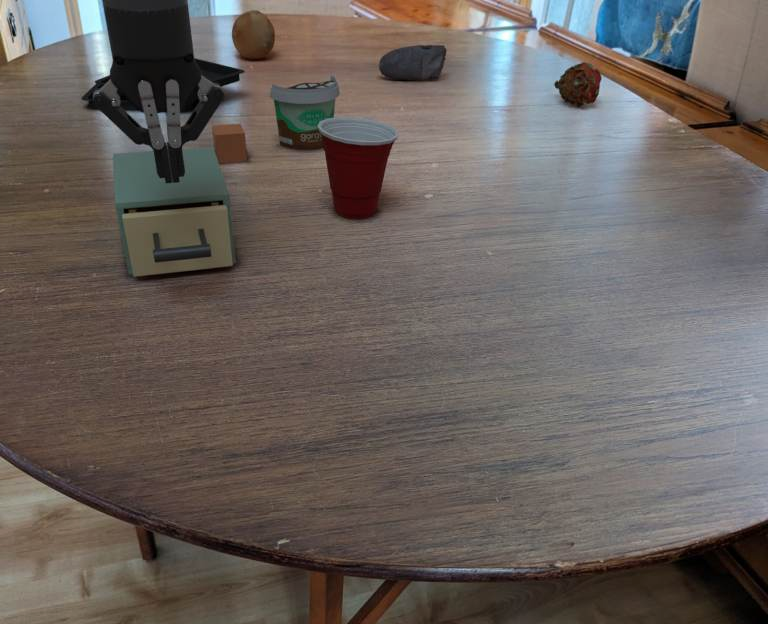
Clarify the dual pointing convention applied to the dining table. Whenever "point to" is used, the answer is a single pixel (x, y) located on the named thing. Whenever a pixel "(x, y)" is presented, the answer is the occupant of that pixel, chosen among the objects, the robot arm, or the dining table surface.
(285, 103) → the food container
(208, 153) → the cabinet
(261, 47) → the brown oval lump
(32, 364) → the dining table surface
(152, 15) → the robot arm
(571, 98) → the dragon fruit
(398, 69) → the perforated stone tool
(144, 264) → the drawer
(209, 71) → the tray
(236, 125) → the block
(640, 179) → the dining table surface
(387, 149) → the plastic cup
